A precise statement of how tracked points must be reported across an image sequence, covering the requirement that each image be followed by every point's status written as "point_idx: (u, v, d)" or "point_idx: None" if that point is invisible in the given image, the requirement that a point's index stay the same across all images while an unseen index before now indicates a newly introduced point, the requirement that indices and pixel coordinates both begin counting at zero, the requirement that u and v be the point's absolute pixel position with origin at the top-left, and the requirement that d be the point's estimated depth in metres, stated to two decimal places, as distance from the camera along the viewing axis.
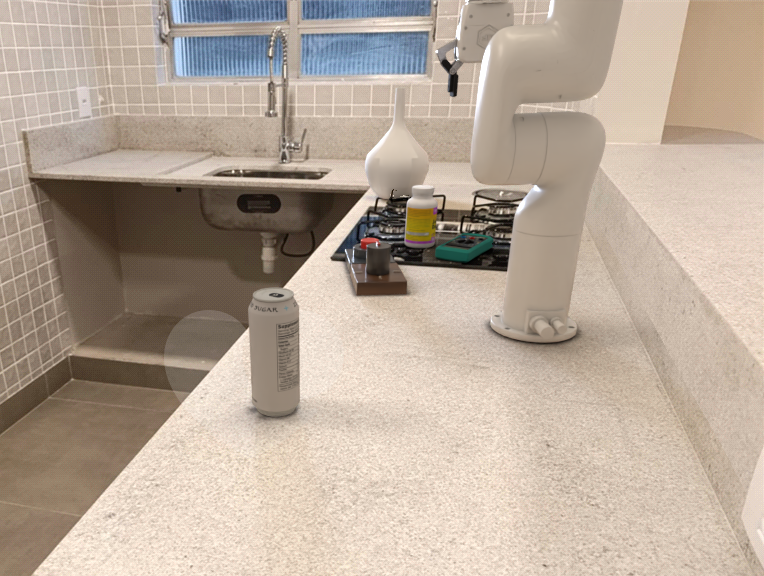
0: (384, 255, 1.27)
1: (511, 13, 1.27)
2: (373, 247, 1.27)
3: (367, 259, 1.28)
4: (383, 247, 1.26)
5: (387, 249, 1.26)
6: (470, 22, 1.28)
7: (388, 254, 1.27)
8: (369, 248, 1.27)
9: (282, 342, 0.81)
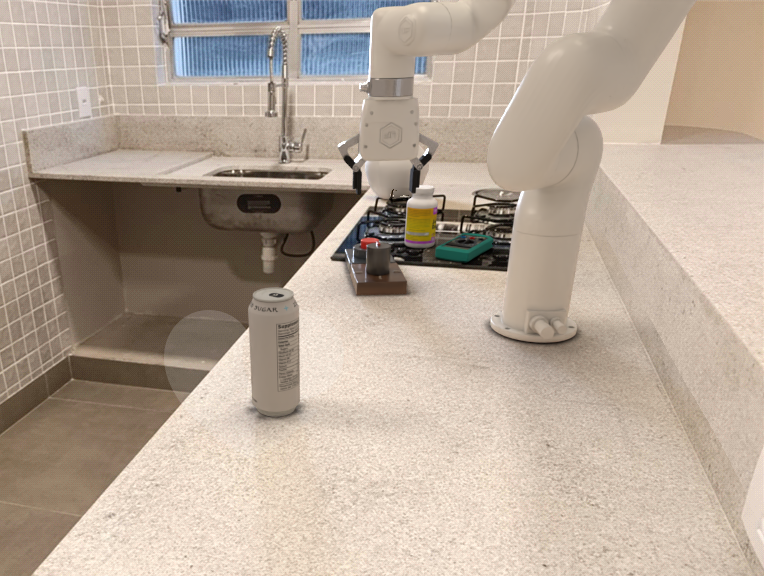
0: (384, 255, 1.27)
1: (415, 110, 1.16)
2: (373, 247, 1.27)
3: (367, 259, 1.28)
4: (383, 247, 1.26)
5: (387, 249, 1.26)
6: (371, 119, 1.17)
7: (388, 254, 1.27)
8: (369, 248, 1.27)
9: (282, 342, 0.81)
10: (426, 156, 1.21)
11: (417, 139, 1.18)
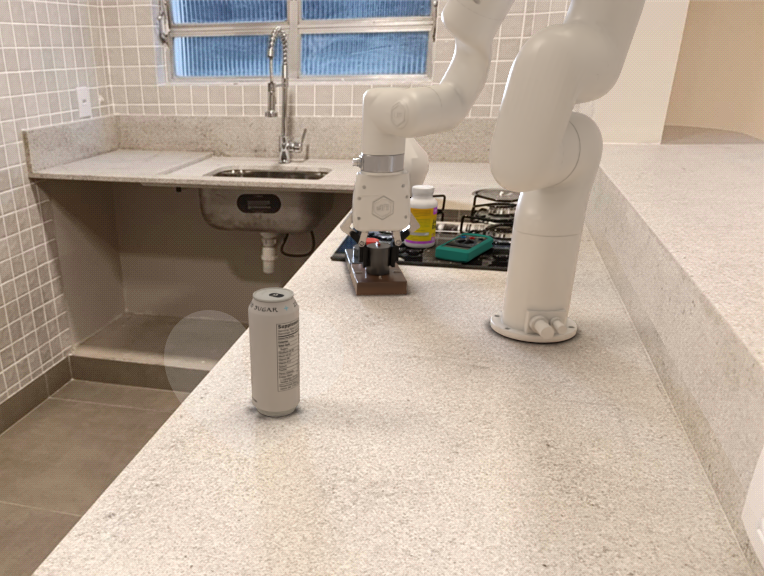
0: (384, 255, 1.27)
1: (406, 184, 1.21)
2: (373, 247, 1.27)
3: (367, 259, 1.28)
4: (383, 247, 1.26)
5: (387, 249, 1.26)
6: (363, 193, 1.21)
7: (388, 254, 1.27)
8: (369, 248, 1.27)
9: (282, 342, 0.81)
10: (404, 232, 1.26)
11: (408, 211, 1.22)
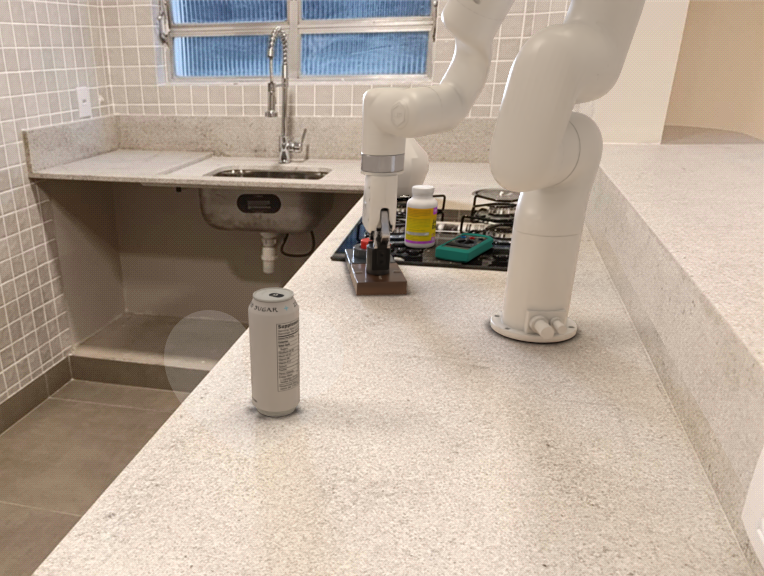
0: (368, 254, 1.28)
1: (370, 187, 1.19)
2: (371, 244, 1.29)
3: None
4: (371, 246, 1.27)
5: (370, 249, 1.27)
6: None
7: (371, 255, 1.27)
8: None
9: (282, 342, 0.81)
10: None
11: (369, 215, 1.21)
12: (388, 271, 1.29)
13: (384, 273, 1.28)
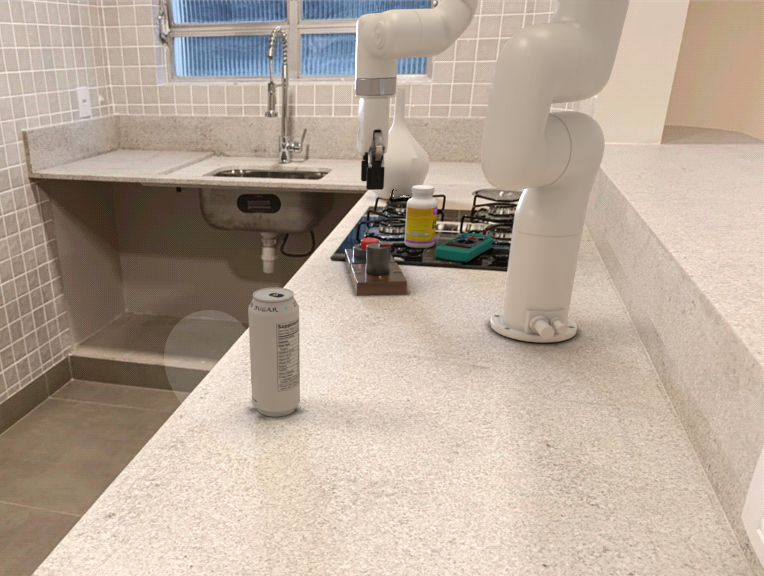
0: (368, 254, 1.28)
1: (364, 109, 1.26)
2: (371, 244, 1.29)
3: None
4: (371, 246, 1.27)
5: (370, 249, 1.27)
6: (358, 113, 1.33)
7: (371, 255, 1.27)
8: None
9: (282, 342, 0.81)
10: None
11: (363, 136, 1.28)
12: (388, 271, 1.29)
13: (384, 273, 1.28)
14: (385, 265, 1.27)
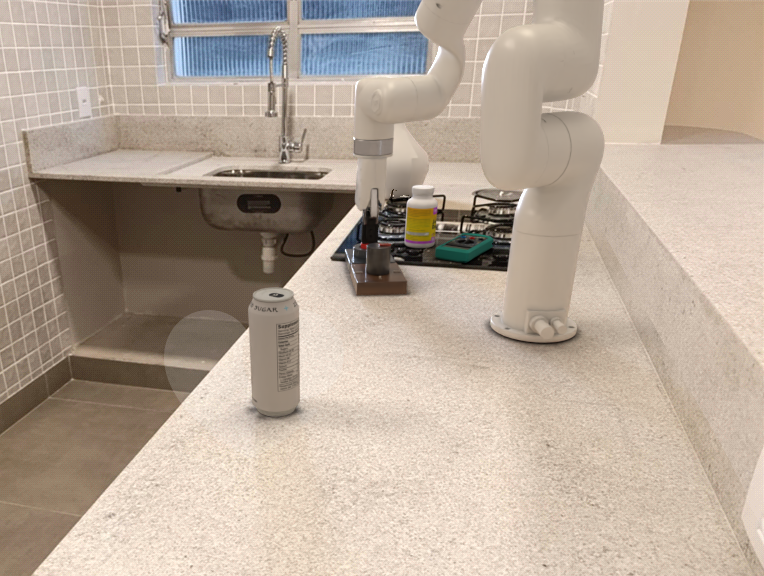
0: (368, 254, 1.28)
1: (362, 169, 1.31)
2: (371, 244, 1.29)
3: None
4: (371, 246, 1.27)
5: (370, 249, 1.27)
6: None
7: (371, 255, 1.27)
8: None
9: (282, 342, 0.81)
10: None
11: (361, 194, 1.32)
12: (388, 271, 1.29)
13: (384, 273, 1.28)
14: (385, 265, 1.27)
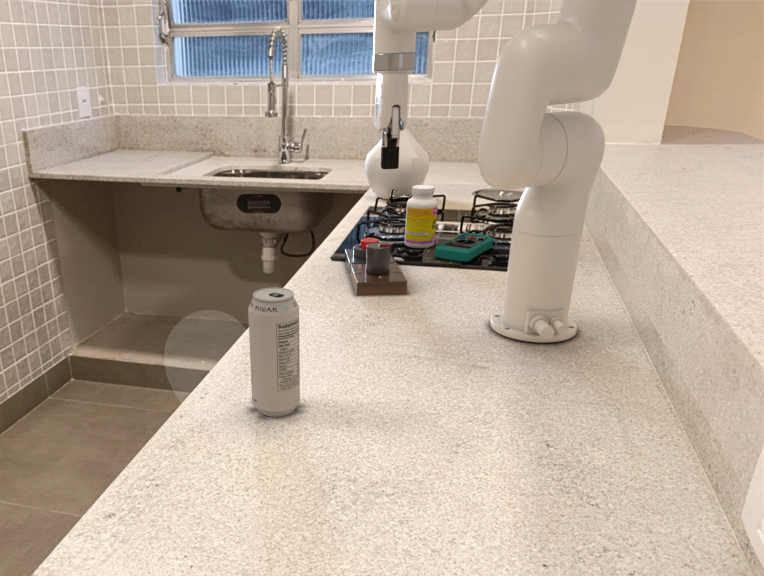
0: (368, 254, 1.28)
1: (382, 84, 1.25)
2: (371, 244, 1.29)
3: None
4: (371, 246, 1.27)
5: (370, 249, 1.27)
6: None
7: (371, 255, 1.27)
8: None
9: (282, 342, 0.81)
10: (388, 136, 1.30)
11: (381, 112, 1.26)
12: (388, 271, 1.29)
13: (384, 273, 1.28)
14: (385, 265, 1.27)
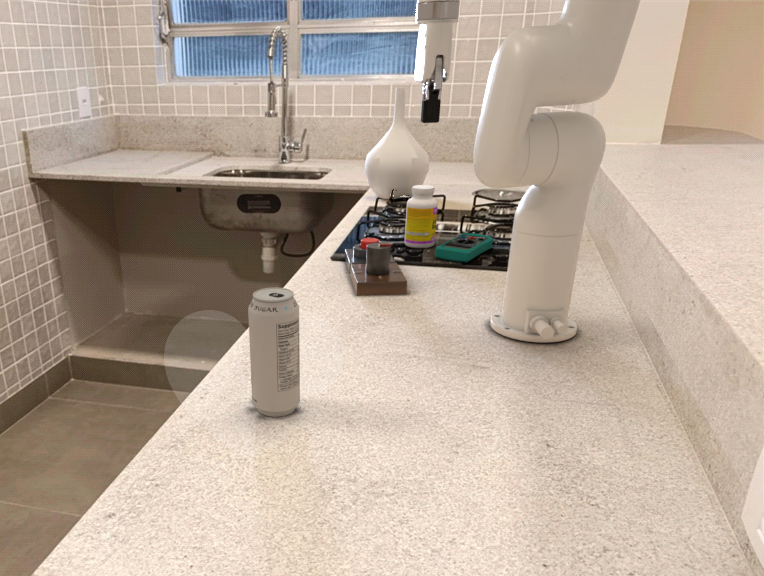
0: (368, 254, 1.28)
1: (426, 34, 1.23)
2: (371, 244, 1.29)
3: None
4: (371, 246, 1.27)
5: (370, 249, 1.27)
6: (417, 42, 1.30)
7: (371, 255, 1.27)
8: None
9: (282, 342, 0.81)
10: (430, 88, 1.29)
11: (425, 63, 1.25)
12: (388, 271, 1.29)
13: (384, 273, 1.28)
14: (385, 265, 1.27)
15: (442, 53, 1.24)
